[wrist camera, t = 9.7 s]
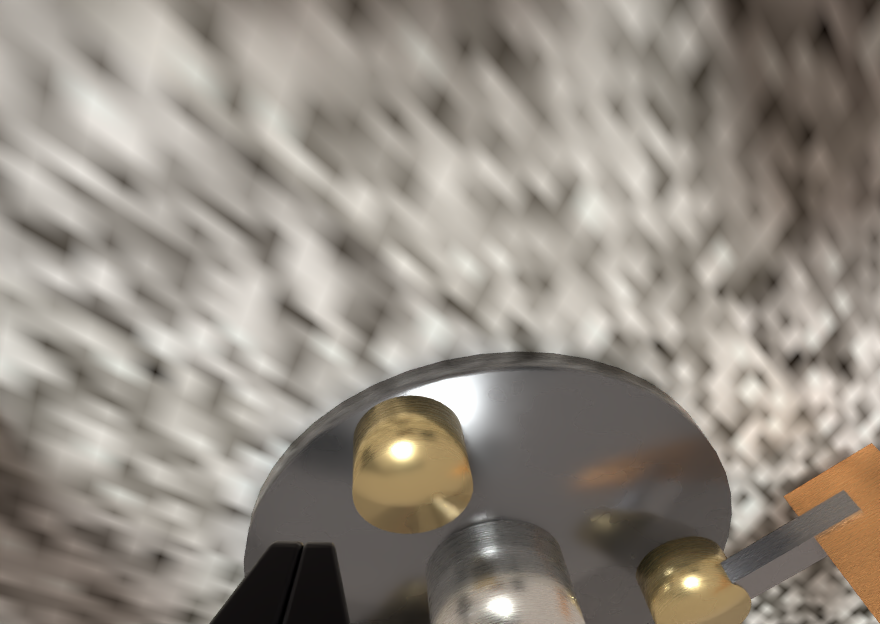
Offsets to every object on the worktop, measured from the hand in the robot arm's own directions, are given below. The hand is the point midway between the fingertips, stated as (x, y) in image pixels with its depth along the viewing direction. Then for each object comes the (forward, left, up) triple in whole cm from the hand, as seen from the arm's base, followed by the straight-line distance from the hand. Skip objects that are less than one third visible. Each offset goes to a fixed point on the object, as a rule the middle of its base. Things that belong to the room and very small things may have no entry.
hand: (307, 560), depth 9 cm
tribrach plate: (+2, -17, -13) cm, 21 cm away
